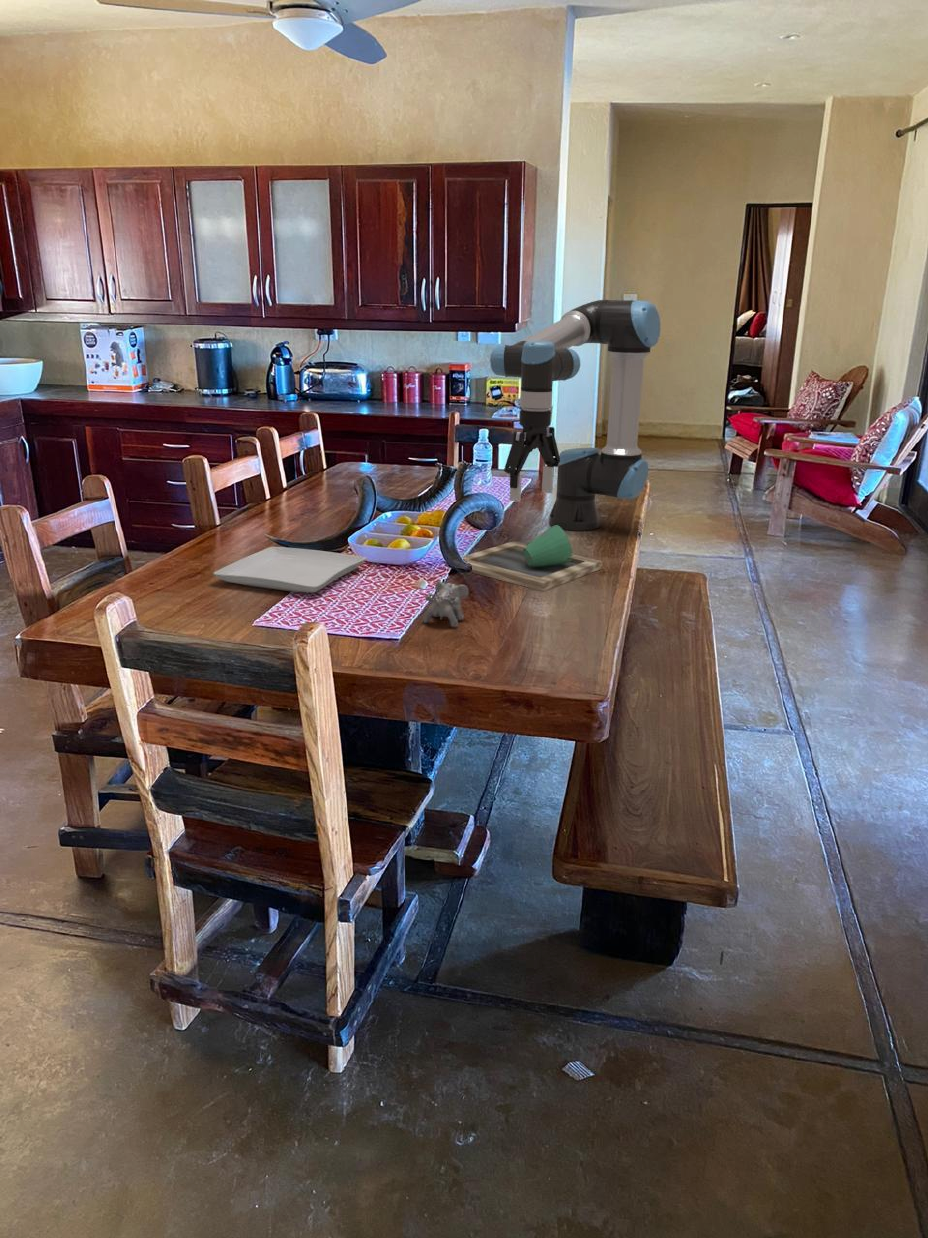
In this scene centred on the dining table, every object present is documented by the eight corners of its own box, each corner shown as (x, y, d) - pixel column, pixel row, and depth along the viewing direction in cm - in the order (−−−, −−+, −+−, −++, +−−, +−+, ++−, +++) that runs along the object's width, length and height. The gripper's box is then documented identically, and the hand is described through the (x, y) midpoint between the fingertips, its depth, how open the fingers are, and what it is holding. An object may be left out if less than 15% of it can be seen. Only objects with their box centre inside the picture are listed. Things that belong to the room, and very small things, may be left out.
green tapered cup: (541, 574, 218) (576, 559, 220) (526, 537, 217) (562, 522, 219) (523, 578, 232) (557, 564, 234) (509, 543, 231) (543, 529, 234)
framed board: (513, 548, 245) (513, 541, 244) (601, 568, 228) (602, 561, 227) (451, 567, 226) (452, 559, 225) (543, 591, 209) (543, 583, 208)
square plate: (368, 570, 223) (368, 555, 221) (316, 602, 198) (316, 585, 197) (272, 557, 231) (272, 543, 229) (211, 587, 206) (210, 570, 205)
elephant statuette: (421, 628, 184) (422, 594, 181) (425, 606, 195) (426, 573, 192) (466, 631, 184) (468, 596, 181) (468, 608, 195) (469, 575, 192)
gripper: (552, 403, 225) (547, 486, 232) (491, 411, 207) (488, 502, 214) (577, 406, 220) (571, 491, 228) (517, 415, 202) (513, 507, 210)
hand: (531, 496), depth 221 cm, fingers open, 13 cm apart
